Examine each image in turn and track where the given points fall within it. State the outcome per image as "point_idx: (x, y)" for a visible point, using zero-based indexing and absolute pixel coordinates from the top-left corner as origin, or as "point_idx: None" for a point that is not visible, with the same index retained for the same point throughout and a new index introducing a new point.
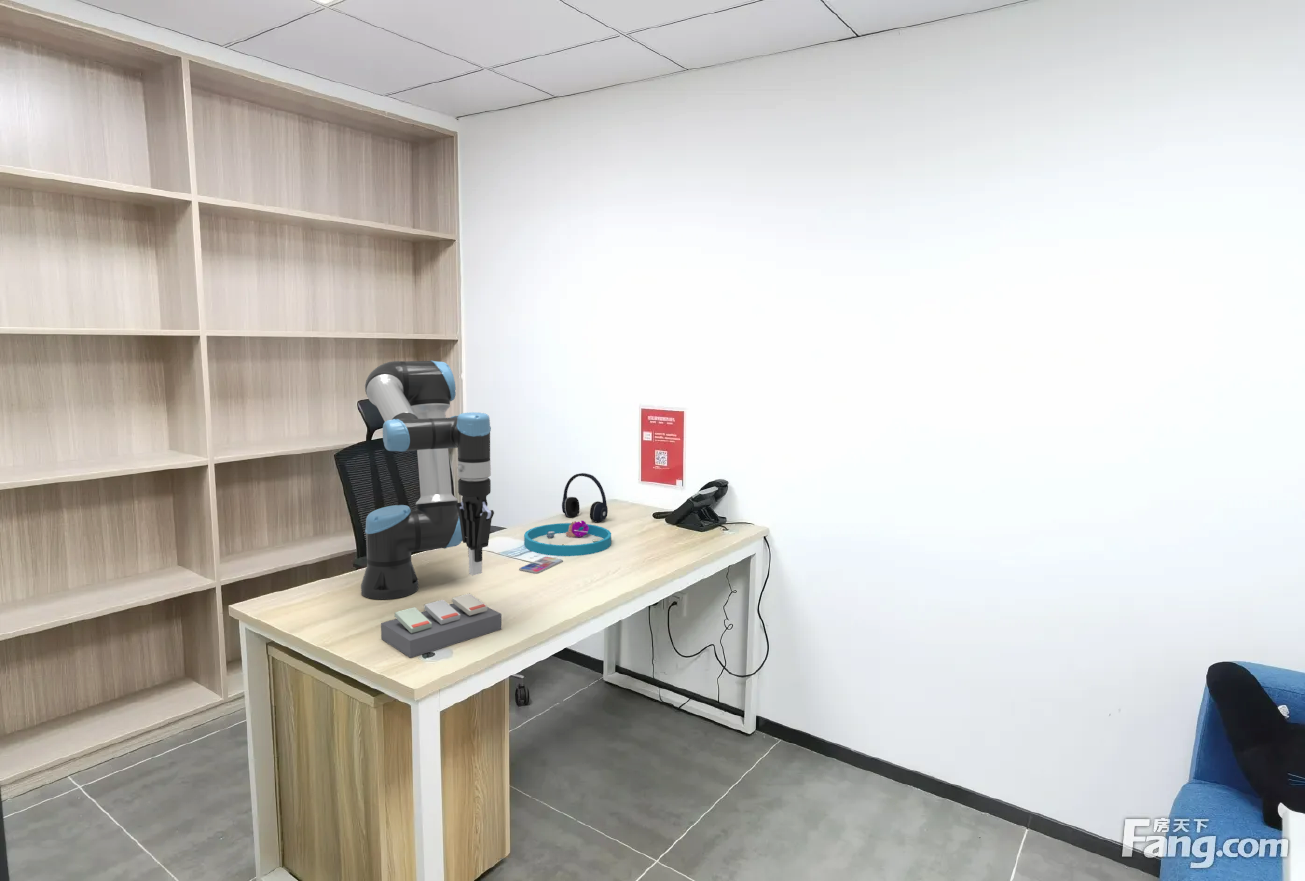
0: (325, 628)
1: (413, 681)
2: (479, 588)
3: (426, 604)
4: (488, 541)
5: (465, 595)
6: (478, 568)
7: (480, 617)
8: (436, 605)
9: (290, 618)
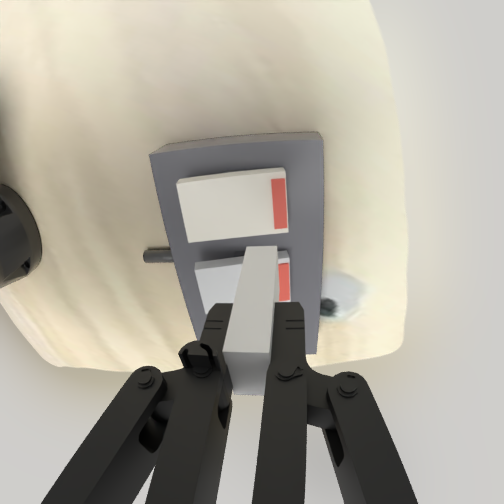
0: (128, 351)
1: (386, 349)
2: (39, 72)
3: (207, 310)
4: (378, 409)
5: (186, 202)
6: (277, 279)
7: (308, 201)
8: (220, 293)
9: (84, 355)
